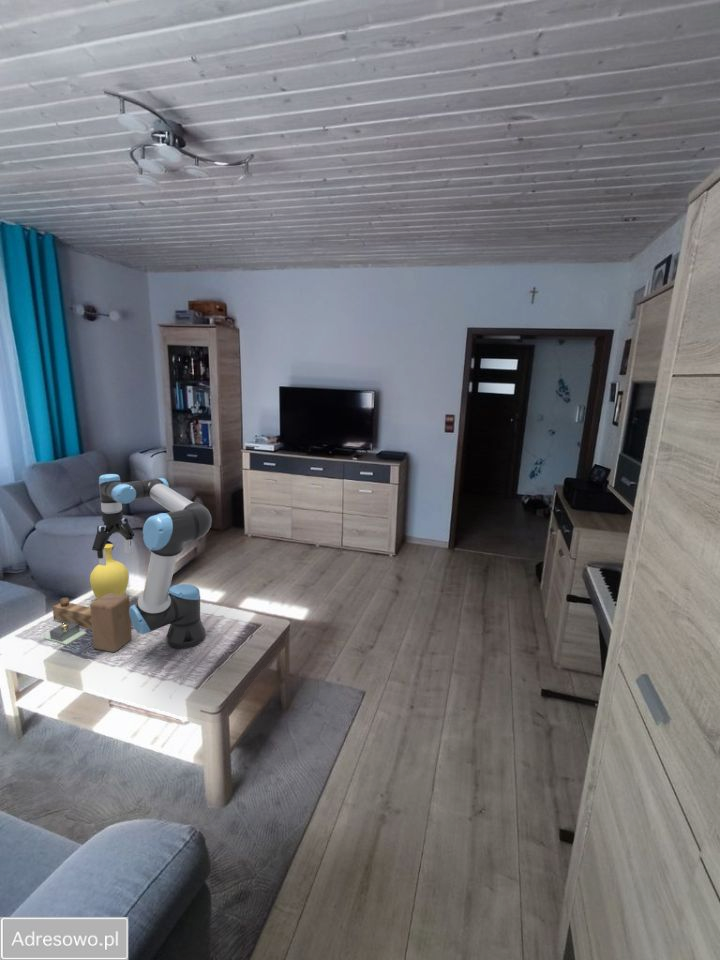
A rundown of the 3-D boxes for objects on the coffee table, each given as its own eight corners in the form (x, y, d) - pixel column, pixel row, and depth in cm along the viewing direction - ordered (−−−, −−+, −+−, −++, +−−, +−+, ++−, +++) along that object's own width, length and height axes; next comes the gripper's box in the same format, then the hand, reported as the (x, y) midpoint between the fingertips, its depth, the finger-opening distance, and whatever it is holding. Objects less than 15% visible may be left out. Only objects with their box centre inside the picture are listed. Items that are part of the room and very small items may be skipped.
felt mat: (86, 633, 180) (86, 632, 180) (66, 645, 172) (66, 644, 171) (64, 627, 183) (64, 626, 183) (43, 639, 175) (43, 637, 175)
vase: (83, 605, 202) (78, 549, 196) (108, 590, 217) (104, 538, 211) (114, 610, 199) (110, 553, 194) (137, 594, 215) (134, 541, 209)
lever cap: (79, 631, 180) (78, 621, 179) (62, 641, 173) (60, 631, 172) (68, 628, 182) (67, 618, 181) (50, 638, 174) (49, 628, 173)
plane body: (111, 626, 186) (109, 599, 183) (100, 633, 181) (98, 604, 178) (64, 615, 193) (62, 588, 190) (53, 621, 188) (50, 593, 185)
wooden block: (114, 653, 168) (111, 607, 164) (92, 649, 170) (88, 603, 166) (132, 639, 178) (129, 595, 174) (111, 635, 180) (108, 591, 176)
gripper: (127, 503, 192) (130, 548, 196) (78, 518, 168) (83, 568, 172) (141, 505, 190) (144, 550, 194) (94, 520, 166) (99, 571, 171)
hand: (115, 559), depth 183 cm, fingers open, 13 cm apart
